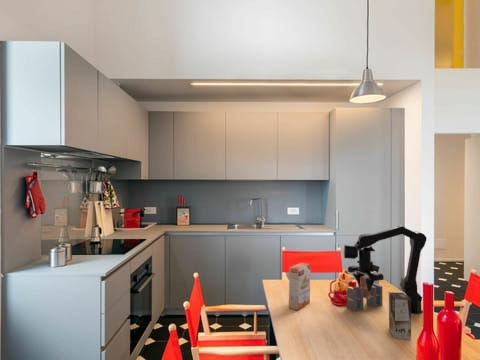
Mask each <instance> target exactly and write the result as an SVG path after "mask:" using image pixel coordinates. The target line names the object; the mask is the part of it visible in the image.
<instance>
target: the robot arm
mask: <svg viewBox="0 0 480 360" xmlns="http://www.w3.org/2000/svg"><path fill="white" fill-rule="evenodd" d="M400 235H403V236H406V237H408V238H409V246H410V251H409V256H408V258H409V259H408V263H407V268H406V275H405V276H404V277H401V278H400V283H399V286H400V289H401V290H402V291H403V292H402V293H404V294H405V295H406V296H407V297H408V298H409V299H410V300H411V314H415V315H416V314H421V313H423V312H422V310H423V309H422V300H423V299H422V298H423V296H422V295H421V294H420V293H419V292H418V282H417V274H418V270H419V263H420V260H421V259H420V258H421V252H422V250H423V249H424V248H425V246H426V242H427V236H426V235H425V234H424V233H422V232H420V231H416V230H414V231H413V230H411V229H410V228H409V229H408V228H407V227H406V226H404V225H397V226H395V227H391V228H388V229H385V230H381V231H378V232H374V233H373V232H372V233H364V234H360V235H359V236H358V238H357V241H356V243H354V245H348V244H347V245H346V244H344V247H343V258H344V259H351V260H352V259H354V260H355V259H357V258H358V260H356V263H357V264H358V266H357V265H350V266H348V267H347V272H348V273H351V274H352V276H353V277H354V278H355V281H356V282H357V286H358V285H359V287H358V288H360V277H363V276H364V275H367V276H369V277H368V278H366V284H367V289H368V291H370V290H371V288H372V285H373V283H374V281H378V280H379V281H383V280H384V279H385V278H384V275H383V273H380V272H379V270H380V266H378V265H376V264H374V262H373V261H372V254H371V253H372V252H376V250H375V249H374V248H373V247H372V246H373V245H375V244H376V243H378V242H380V241H383V240H386V239H390V238H393V237H397V236H400ZM374 271H375V272H374ZM371 272H374V273H371Z"/></svg>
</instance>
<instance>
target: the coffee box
mask: <svg viewBox="0 0 480 360" xmlns="http://www.w3.org/2000/svg"><path fill="white" fill-rule="evenodd" d="M411 325H412V312H411V300H410V299H409V298H408V297H407V295H406V294H405V293H404V292H394V291H393V292H392V291H389V292H388V329H389V331H390V333H391V334H392V336H393V338H395V339H398V340H399V339H401V340H410V341H411V340H412V326H411Z"/></svg>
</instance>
